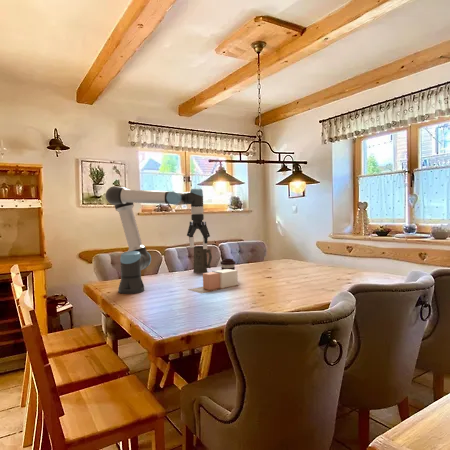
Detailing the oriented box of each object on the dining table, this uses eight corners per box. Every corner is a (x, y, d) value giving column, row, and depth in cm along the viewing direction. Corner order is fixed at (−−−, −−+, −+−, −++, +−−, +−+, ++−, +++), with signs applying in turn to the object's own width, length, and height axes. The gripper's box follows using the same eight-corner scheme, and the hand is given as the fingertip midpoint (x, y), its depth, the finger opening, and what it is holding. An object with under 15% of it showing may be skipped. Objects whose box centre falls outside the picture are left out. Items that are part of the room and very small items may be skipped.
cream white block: (221, 288, 213) (221, 272, 213) (212, 285, 220) (212, 271, 220) (237, 284, 222) (237, 270, 221) (228, 282, 228) (227, 268, 228)
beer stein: (190, 272, 274) (191, 246, 272) (195, 270, 284) (196, 245, 283) (209, 274, 269) (210, 248, 268) (213, 272, 279) (215, 246, 278)
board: (201, 294, 200) (201, 293, 200) (187, 290, 211) (187, 289, 211) (240, 286, 220) (240, 285, 220) (225, 283, 230) (225, 282, 230)
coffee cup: (234, 283, 230) (233, 260, 229) (219, 283, 232) (218, 260, 231) (236, 280, 240) (236, 258, 239) (222, 280, 242) (222, 258, 241)
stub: (209, 289, 209) (209, 274, 209) (203, 288, 213) (202, 273, 213) (219, 287, 214) (219, 272, 214) (213, 286, 219) (213, 271, 218)
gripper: (215, 213, 212) (216, 248, 213) (190, 213, 231) (191, 246, 231) (205, 213, 207) (206, 249, 208) (180, 214, 226) (181, 247, 226)
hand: (198, 248), depth 220 cm, fingers open, 13 cm apart
